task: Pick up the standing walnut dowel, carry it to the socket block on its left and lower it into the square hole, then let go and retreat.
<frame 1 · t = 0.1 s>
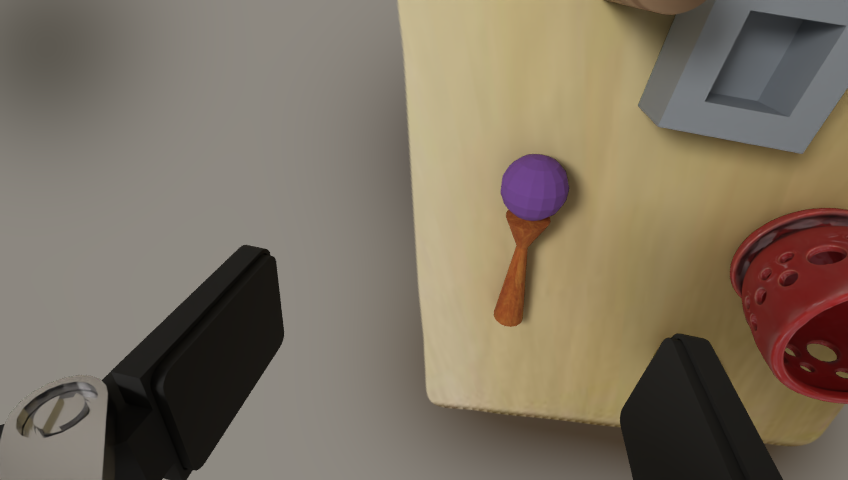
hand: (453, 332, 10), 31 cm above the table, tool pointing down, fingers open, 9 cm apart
purple maraca: (521, 235, 44), on the table
plant pot: (790, 257, 40), on the table
socket: (731, 52, 32), on the table
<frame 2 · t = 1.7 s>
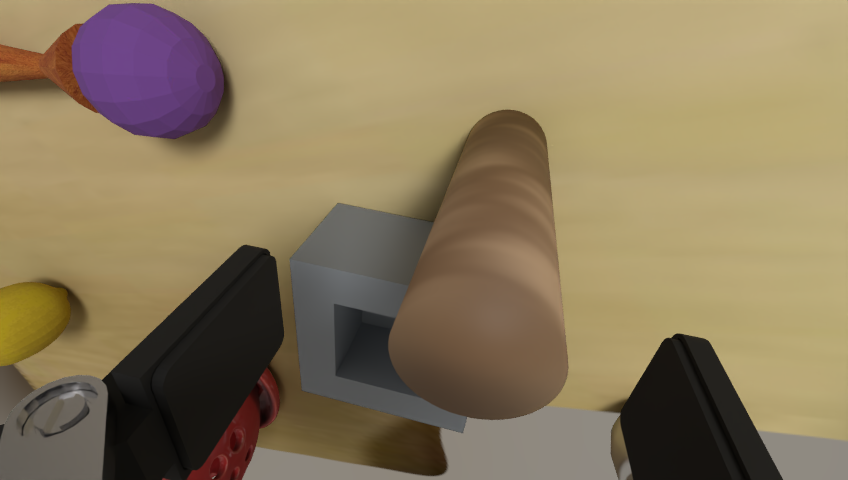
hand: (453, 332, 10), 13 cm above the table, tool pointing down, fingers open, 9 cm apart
purple maraca: (90, 58, 24), on the table
peg: (505, 150, 21), on the table
plastic bottle: (654, 417, 29), on the table
lemon: (67, 288, 36), on the table
plant pot: (224, 365, 37), on the table
socket: (411, 285, 27), on the table
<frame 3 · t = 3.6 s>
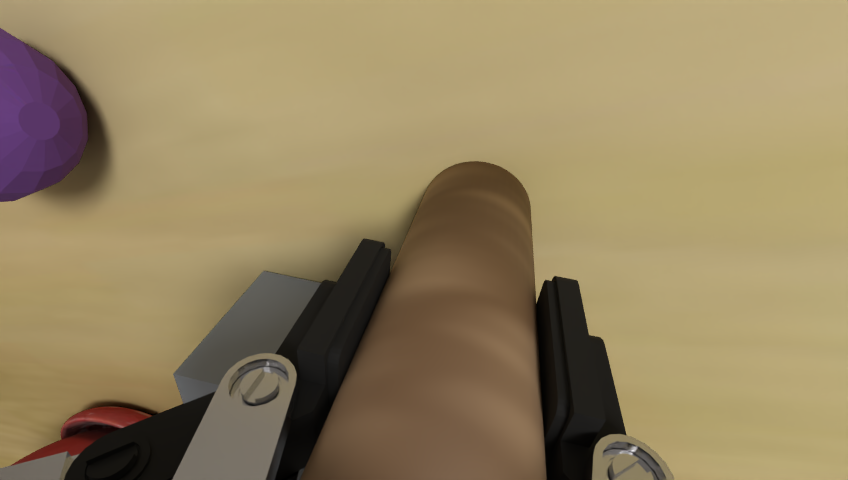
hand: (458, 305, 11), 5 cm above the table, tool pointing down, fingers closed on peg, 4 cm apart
peg: (475, 212, 15), on the table, touching gripper
plant pot: (154, 441, 31), on the table
socket: (365, 366, 21), on the table
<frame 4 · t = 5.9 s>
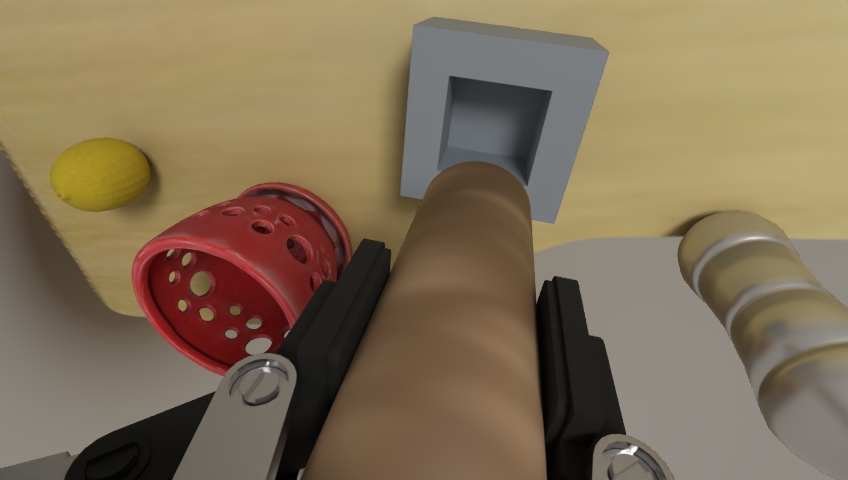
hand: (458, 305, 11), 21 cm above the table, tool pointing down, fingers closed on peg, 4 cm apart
peg: (475, 212, 15), point 16 cm above the table, touching gripper
plastic bottle: (716, 238, 31), on the table
lemon: (143, 155, 37), on the table
plant pot: (294, 231, 38), on the table
socket: (495, 107, 29), on the table
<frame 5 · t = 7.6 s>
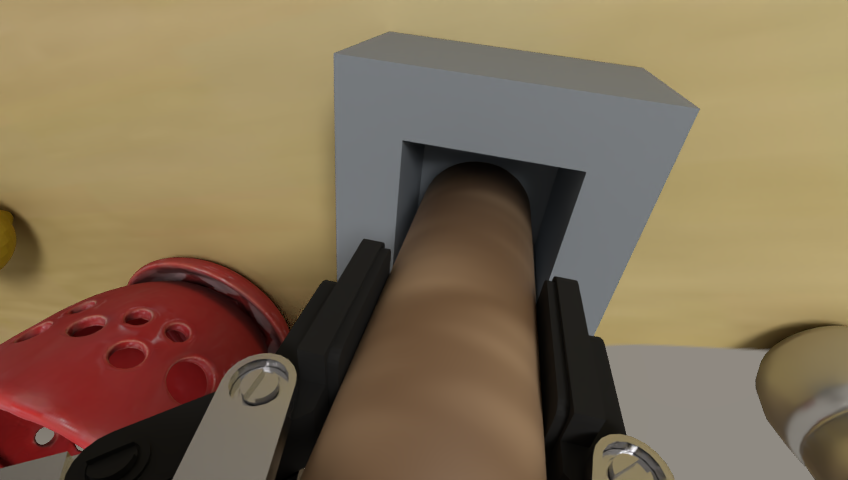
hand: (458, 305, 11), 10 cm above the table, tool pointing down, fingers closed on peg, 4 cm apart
peg: (475, 212, 15), point 4 cm above the table, touching gripper
plastic bottle: (812, 353, 21), on the table
lemon: (13, 212, 27), on the table
plant pot: (221, 312, 29), on the table
socket: (487, 166, 19), on the table
when the fingers open (8 cm above the table, at t = 8.7 s): peg stays where it is, resting on socket.
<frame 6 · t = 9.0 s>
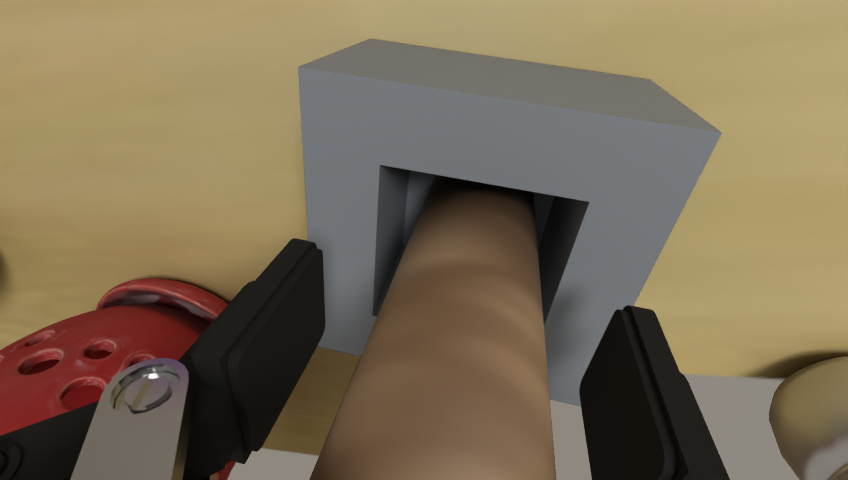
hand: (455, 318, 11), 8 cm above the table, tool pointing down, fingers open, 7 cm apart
peg: (480, 200, 16), point 2 cm above the table, touching socket
plastic bottle: (829, 383, 20), on the table
plant pot: (199, 334, 27), on the table
socket: (480, 185, 17), on the table
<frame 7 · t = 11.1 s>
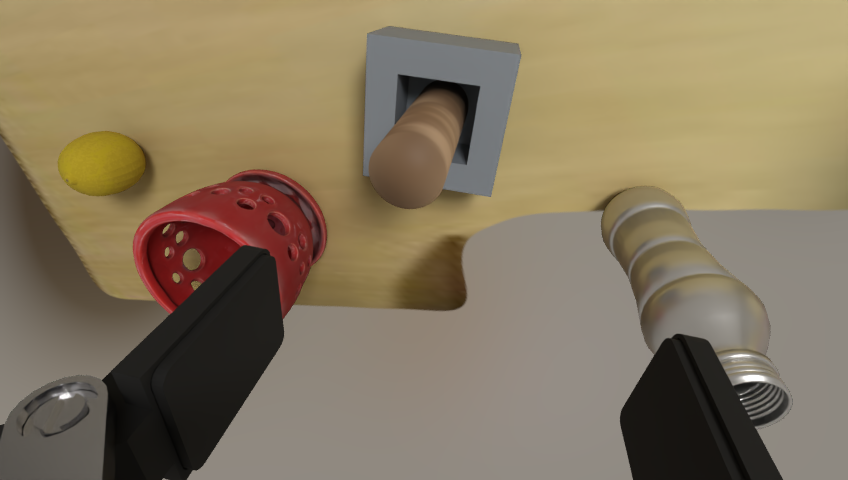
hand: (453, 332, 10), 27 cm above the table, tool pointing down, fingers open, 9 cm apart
peg: (443, 105, 33), point 2 cm above the table, touching socket
plastic bottle: (634, 211, 37), on the table
lemon: (139, 148, 42), on the table
plant pot: (275, 214, 43), on the table
socket: (444, 101, 34), on the table
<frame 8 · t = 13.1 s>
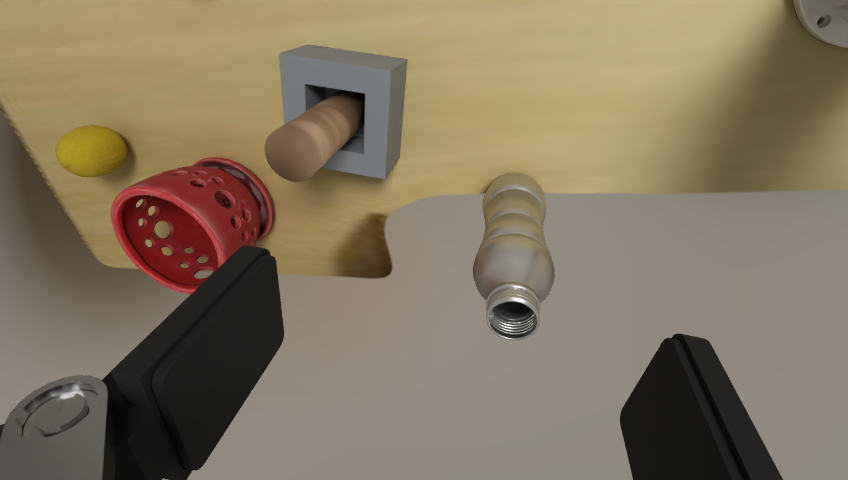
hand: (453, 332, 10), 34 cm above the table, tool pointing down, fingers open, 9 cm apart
peg: (352, 107, 41), point 2 cm above the table, touching socket
plastic bottle: (514, 194, 45), on the table
lemon: (122, 139, 51), on the table
plant pot: (234, 195, 52), on the table
socket: (356, 103, 43), on the table
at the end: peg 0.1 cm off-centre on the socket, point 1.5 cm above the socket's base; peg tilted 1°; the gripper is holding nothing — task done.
